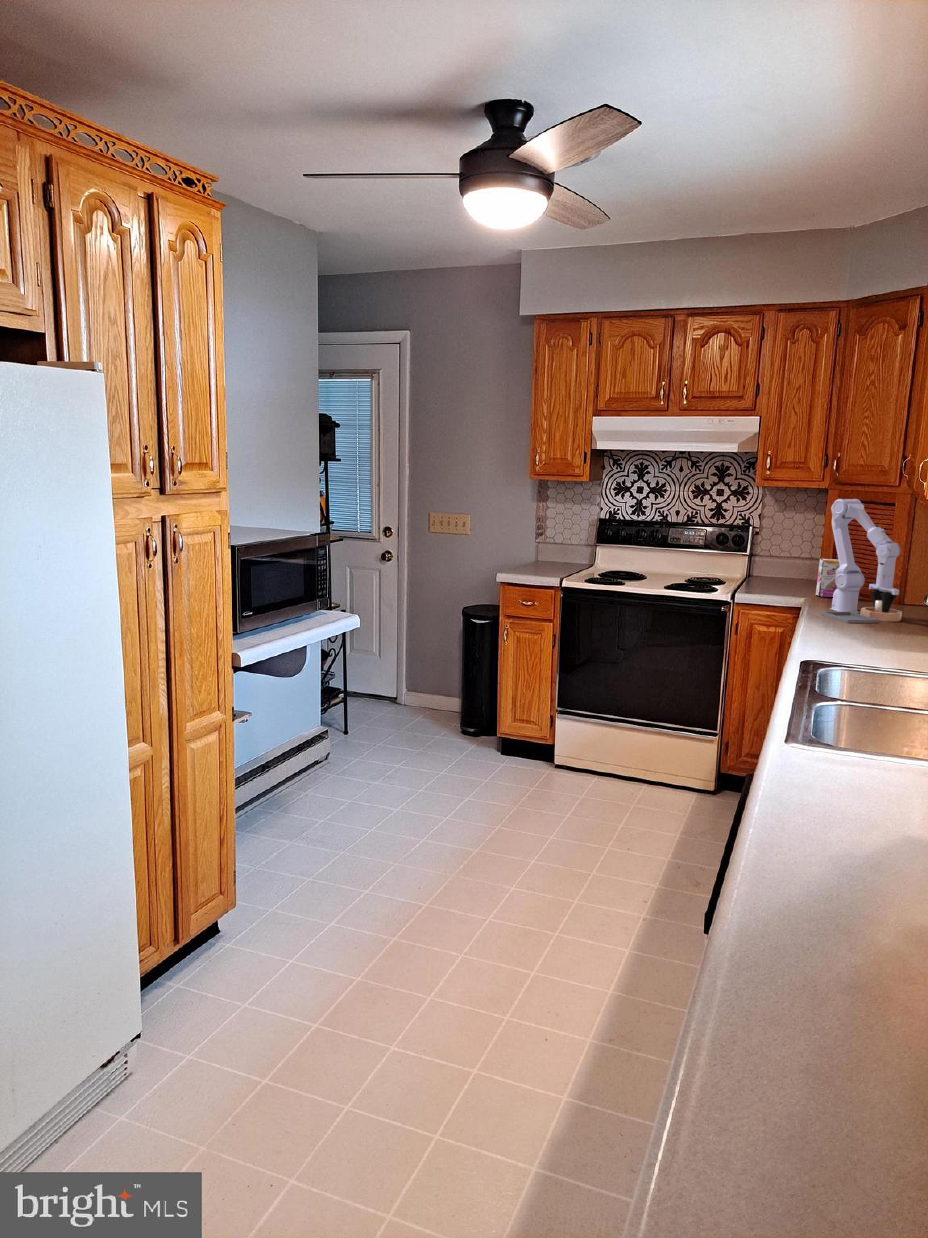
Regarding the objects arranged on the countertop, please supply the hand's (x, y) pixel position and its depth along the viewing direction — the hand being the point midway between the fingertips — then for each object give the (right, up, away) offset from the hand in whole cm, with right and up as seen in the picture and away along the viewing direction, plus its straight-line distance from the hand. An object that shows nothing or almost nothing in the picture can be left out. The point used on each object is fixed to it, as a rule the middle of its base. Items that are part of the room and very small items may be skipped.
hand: (881, 611), depth 332 cm
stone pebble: (0, -1, 0) cm, 1 cm away
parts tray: (-14, -4, -3) cm, 14 cm away
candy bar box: (+2, +6, +51) cm, 52 cm away
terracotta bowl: (0, -3, +1) cm, 3 cm away
